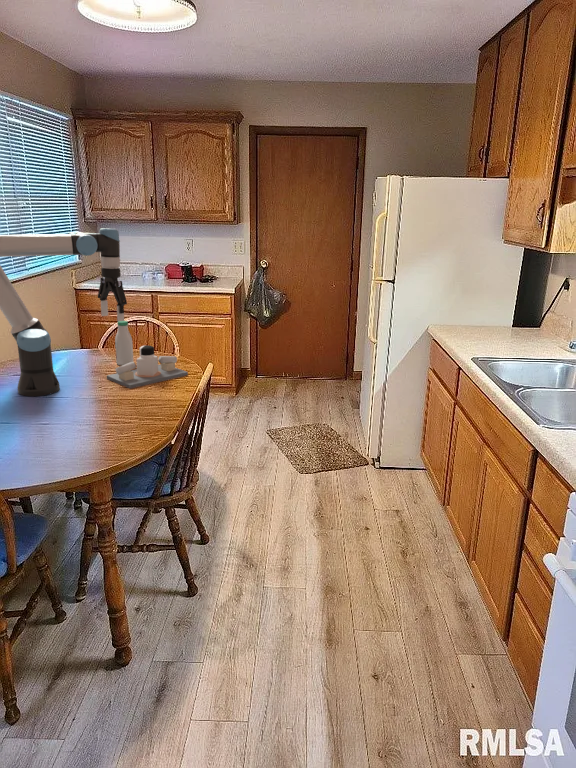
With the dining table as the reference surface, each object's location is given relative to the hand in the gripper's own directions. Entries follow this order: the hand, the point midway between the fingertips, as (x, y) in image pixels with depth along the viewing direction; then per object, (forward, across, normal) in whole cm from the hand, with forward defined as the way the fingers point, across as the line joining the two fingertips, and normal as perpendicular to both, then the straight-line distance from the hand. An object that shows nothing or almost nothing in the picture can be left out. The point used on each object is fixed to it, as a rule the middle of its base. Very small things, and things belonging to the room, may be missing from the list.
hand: (112, 318), depth 235 cm
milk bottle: (+25, +13, -12) cm, 31 cm away
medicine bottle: (+23, -12, -9) cm, 28 cm away
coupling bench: (+24, -12, -9) cm, 29 cm away
